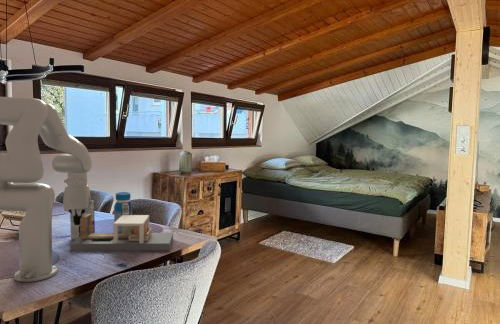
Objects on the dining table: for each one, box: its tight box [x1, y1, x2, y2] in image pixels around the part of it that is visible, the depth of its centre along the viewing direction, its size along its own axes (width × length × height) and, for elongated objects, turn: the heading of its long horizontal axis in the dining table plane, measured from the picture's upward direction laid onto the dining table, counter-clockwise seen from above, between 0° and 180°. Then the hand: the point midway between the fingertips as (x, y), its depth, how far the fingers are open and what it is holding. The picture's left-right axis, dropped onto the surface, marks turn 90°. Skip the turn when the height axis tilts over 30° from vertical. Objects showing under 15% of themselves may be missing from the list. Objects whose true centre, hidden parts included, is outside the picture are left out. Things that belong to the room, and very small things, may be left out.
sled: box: [80, 214, 153, 241], centre depth 152 cm, size 10×28×10 cm, turn 97°
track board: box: [69, 214, 174, 252], centre depth 153 cm, size 16×40×12 cm, turn 97°
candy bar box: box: [69, 200, 96, 241], centre depth 162 cm, size 11×5×16 cm, turn 168°
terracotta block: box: [134, 223, 147, 234], centre depth 153 cm, size 5×5×5 cm
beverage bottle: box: [113, 191, 133, 233], centre depth 169 cm, size 8×8×20 cm
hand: (77, 224), depth 150 cm, fingers closed
